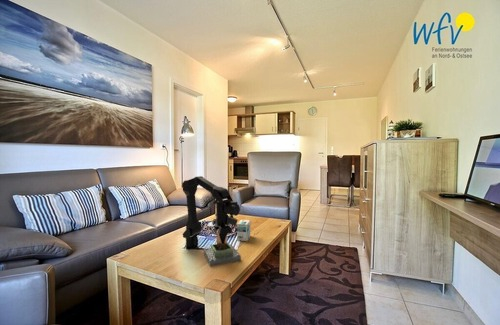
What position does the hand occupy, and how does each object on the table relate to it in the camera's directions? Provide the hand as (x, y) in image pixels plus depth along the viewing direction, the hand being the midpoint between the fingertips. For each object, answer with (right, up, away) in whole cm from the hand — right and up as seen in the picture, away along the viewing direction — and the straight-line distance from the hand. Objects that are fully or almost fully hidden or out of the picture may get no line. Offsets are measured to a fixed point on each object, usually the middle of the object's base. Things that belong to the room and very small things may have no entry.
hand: (221, 241), depth 126 cm
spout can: (0, -3, 0) cm, 3 cm away
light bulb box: (+11, -8, +29) cm, 32 cm away
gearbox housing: (0, -8, 0) cm, 8 cm away
